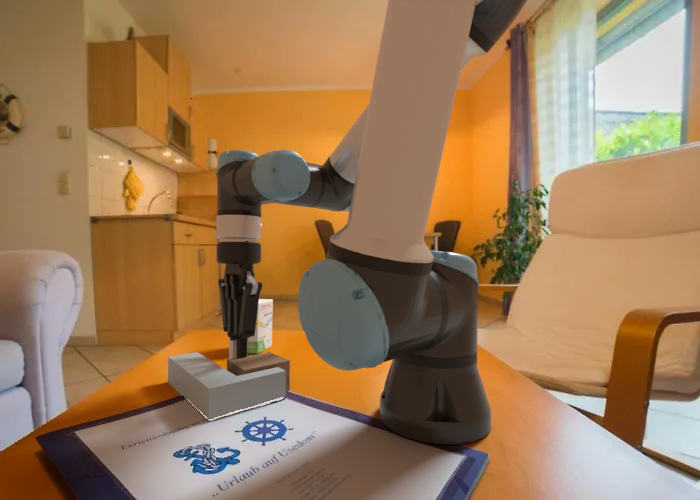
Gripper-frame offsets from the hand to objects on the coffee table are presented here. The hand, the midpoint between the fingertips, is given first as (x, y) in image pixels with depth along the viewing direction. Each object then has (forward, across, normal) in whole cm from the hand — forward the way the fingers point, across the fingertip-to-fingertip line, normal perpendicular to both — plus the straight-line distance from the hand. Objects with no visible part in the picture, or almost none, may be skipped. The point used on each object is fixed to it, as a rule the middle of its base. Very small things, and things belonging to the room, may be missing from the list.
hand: (238, 374), depth 64 cm
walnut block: (+2, -5, -1) cm, 5 cm away
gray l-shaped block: (+2, -1, +3) cm, 4 cm away
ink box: (+2, +20, -13) cm, 24 cm away
